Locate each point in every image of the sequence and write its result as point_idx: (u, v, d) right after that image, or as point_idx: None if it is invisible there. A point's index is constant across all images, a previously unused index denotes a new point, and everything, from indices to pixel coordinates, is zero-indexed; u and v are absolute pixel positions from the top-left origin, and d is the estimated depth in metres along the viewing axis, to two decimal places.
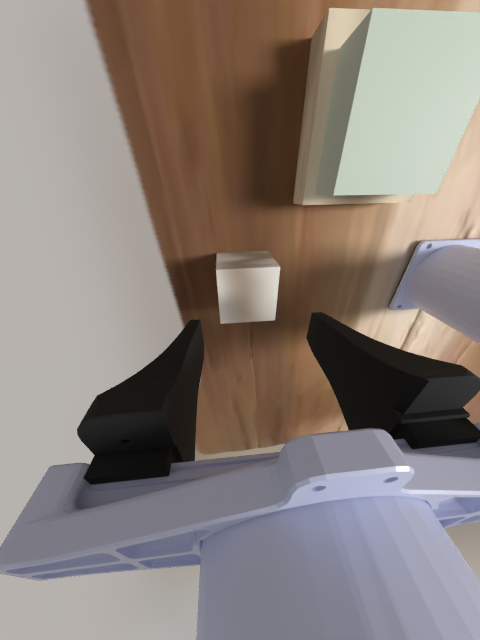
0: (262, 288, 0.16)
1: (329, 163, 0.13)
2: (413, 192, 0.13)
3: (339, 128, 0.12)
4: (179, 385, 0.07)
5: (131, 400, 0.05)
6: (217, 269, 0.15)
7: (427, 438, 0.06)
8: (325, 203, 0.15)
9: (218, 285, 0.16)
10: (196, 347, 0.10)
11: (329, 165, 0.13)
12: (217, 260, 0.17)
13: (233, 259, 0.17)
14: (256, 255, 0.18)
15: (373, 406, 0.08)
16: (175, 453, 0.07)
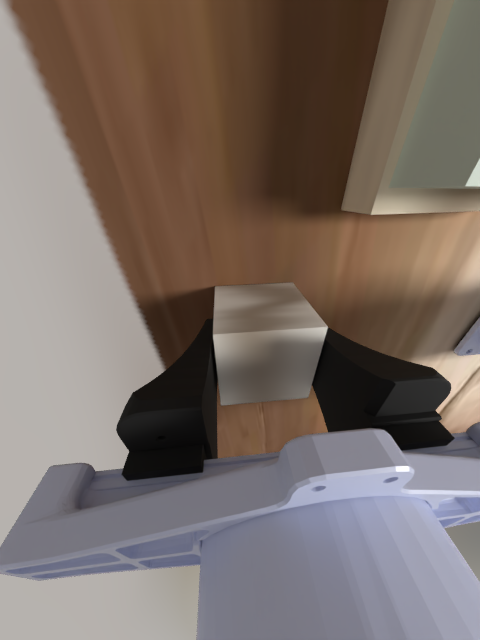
0: (293, 358, 0.09)
1: (451, 116, 0.06)
2: None
3: None
4: (208, 383, 0.07)
5: (169, 396, 0.05)
6: (215, 333, 0.08)
7: (396, 441, 0.06)
8: (411, 211, 0.09)
9: (217, 356, 0.09)
10: None
11: (451, 120, 0.06)
12: (216, 306, 0.10)
13: (242, 302, 0.11)
14: (278, 294, 0.11)
15: (348, 408, 0.08)
16: (206, 450, 0.07)
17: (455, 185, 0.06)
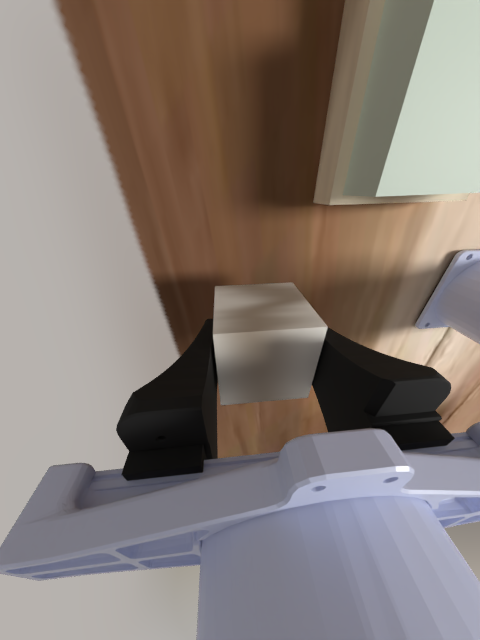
0: (293, 357, 0.09)
1: (368, 153, 0.09)
2: None
3: (388, 102, 0.08)
4: (208, 383, 0.07)
5: (169, 396, 0.05)
6: (215, 333, 0.08)
7: (396, 441, 0.06)
8: (358, 202, 0.12)
9: (217, 356, 0.09)
10: None
11: (368, 155, 0.09)
12: (215, 306, 0.10)
13: (242, 302, 0.11)
14: (278, 293, 0.11)
15: (348, 408, 0.08)
16: (206, 450, 0.07)
17: (371, 195, 0.09)
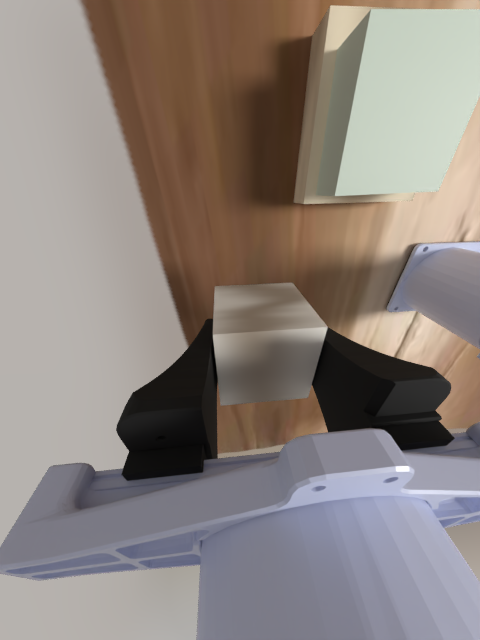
0: (293, 358, 0.09)
1: (330, 164, 0.13)
2: (415, 190, 0.13)
3: (339, 129, 0.12)
4: (208, 383, 0.07)
5: (169, 397, 0.05)
6: (215, 333, 0.08)
7: (396, 441, 0.06)
8: (326, 202, 0.15)
9: (217, 356, 0.09)
10: None
11: (330, 166, 0.13)
12: (215, 306, 0.10)
13: (242, 303, 0.11)
14: (278, 294, 0.11)
15: (348, 408, 0.08)
16: (206, 450, 0.07)
17: (332, 195, 0.13)
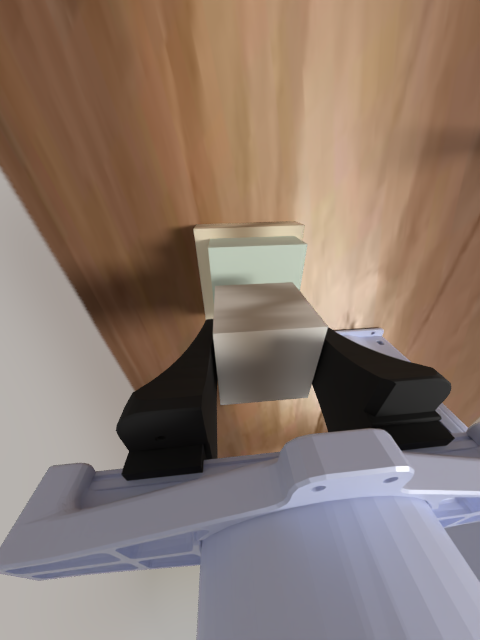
0: (293, 357, 0.09)
1: None
2: None
3: None
4: (208, 383, 0.07)
5: (169, 397, 0.05)
6: (215, 332, 0.08)
7: (396, 441, 0.06)
8: None
9: (217, 356, 0.09)
10: None
11: None
12: (216, 305, 0.10)
13: (242, 302, 0.11)
14: (278, 293, 0.11)
15: (348, 408, 0.08)
16: (206, 450, 0.07)
17: None
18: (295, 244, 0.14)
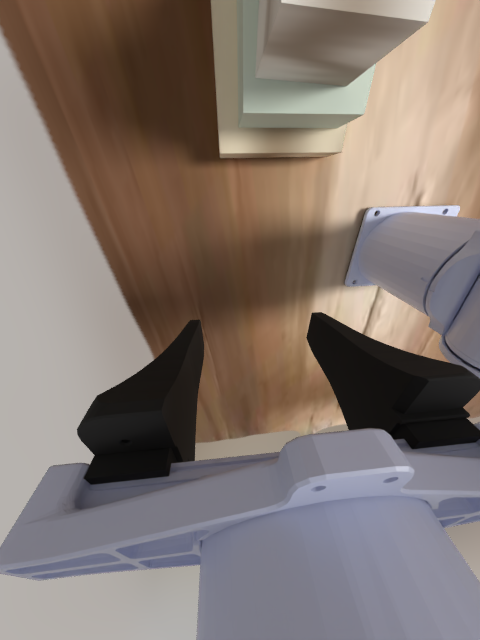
0: None
1: (240, 77, 0.11)
2: (337, 111, 0.11)
3: (240, 25, 0.10)
4: (179, 385, 0.07)
5: (131, 400, 0.05)
6: None
7: (427, 438, 0.06)
8: (245, 151, 0.14)
9: None
10: (196, 347, 0.10)
11: (240, 80, 0.11)
12: None
13: None
14: None
15: (373, 406, 0.08)
16: (175, 453, 0.07)
17: (242, 114, 0.11)
18: None
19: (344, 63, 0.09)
